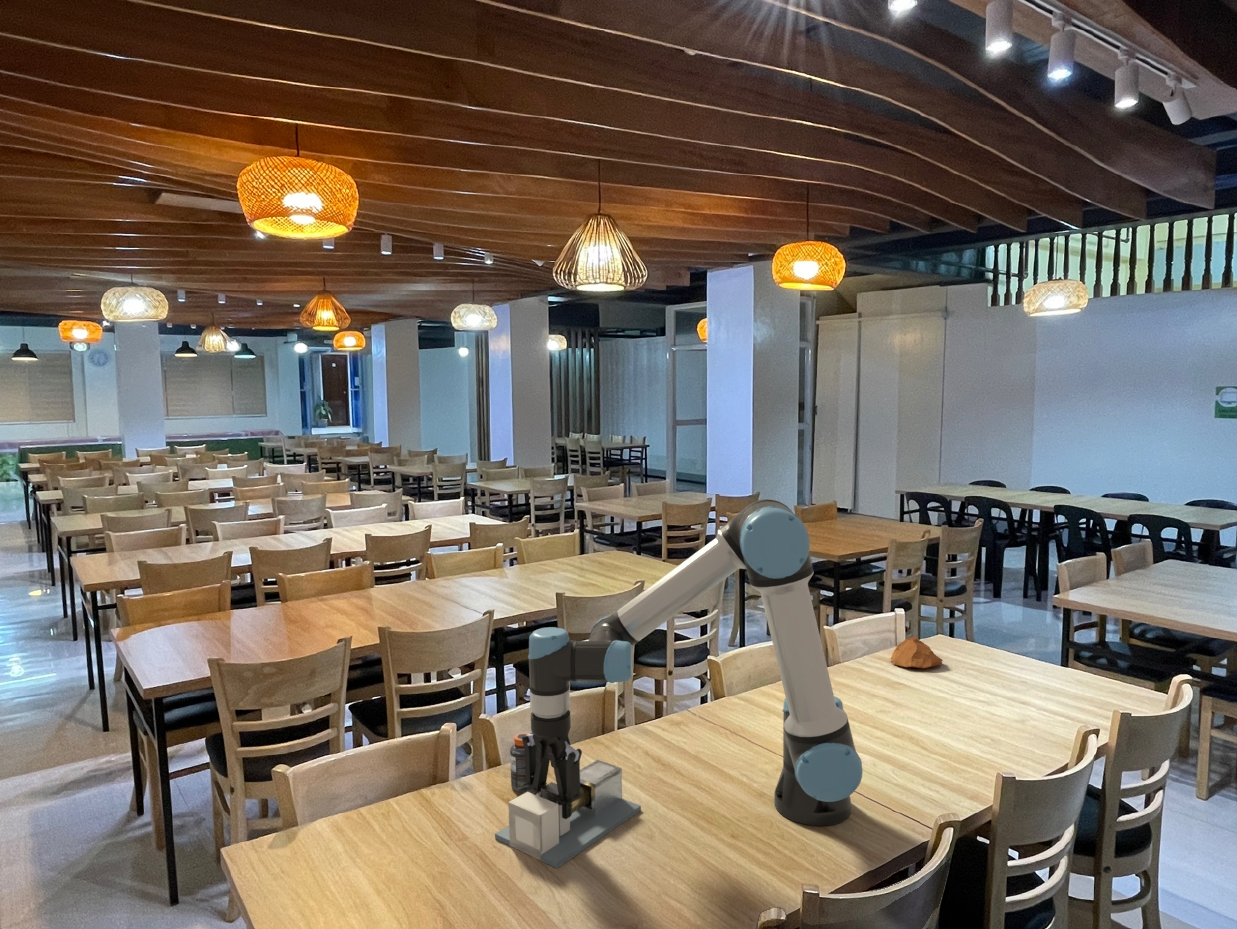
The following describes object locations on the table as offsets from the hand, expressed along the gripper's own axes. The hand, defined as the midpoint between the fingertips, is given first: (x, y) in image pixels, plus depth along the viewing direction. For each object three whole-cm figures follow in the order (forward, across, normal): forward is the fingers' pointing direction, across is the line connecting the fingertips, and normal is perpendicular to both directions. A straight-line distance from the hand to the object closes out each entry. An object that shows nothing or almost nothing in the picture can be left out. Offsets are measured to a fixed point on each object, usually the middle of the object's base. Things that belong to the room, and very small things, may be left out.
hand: (553, 827), depth 154 cm
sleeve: (0, 0, -13) cm, 13 cm away
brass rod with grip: (-1, 0, -3) cm, 3 cm away
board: (+1, 0, -5) cm, 5 cm away
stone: (+3, -23, -138) cm, 140 cm away
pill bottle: (+2, +18, -10) cm, 21 cm away
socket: (+1, 0, +5) cm, 6 cm away
